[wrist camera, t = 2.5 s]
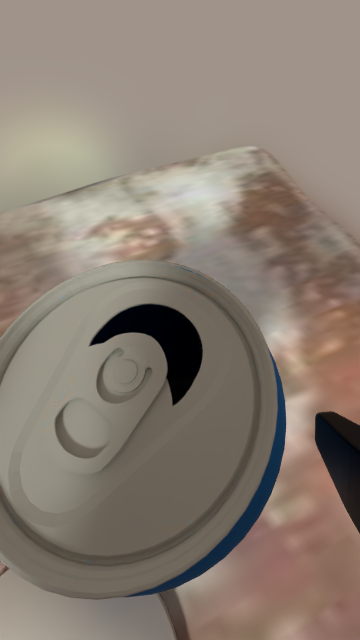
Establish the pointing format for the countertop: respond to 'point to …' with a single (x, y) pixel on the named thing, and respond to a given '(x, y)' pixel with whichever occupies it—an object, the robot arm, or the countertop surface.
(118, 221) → the countertop surface
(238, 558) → the countertop surface
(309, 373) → the countertop surface
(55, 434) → the beverage can
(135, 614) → the white round disc
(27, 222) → the countertop surface
